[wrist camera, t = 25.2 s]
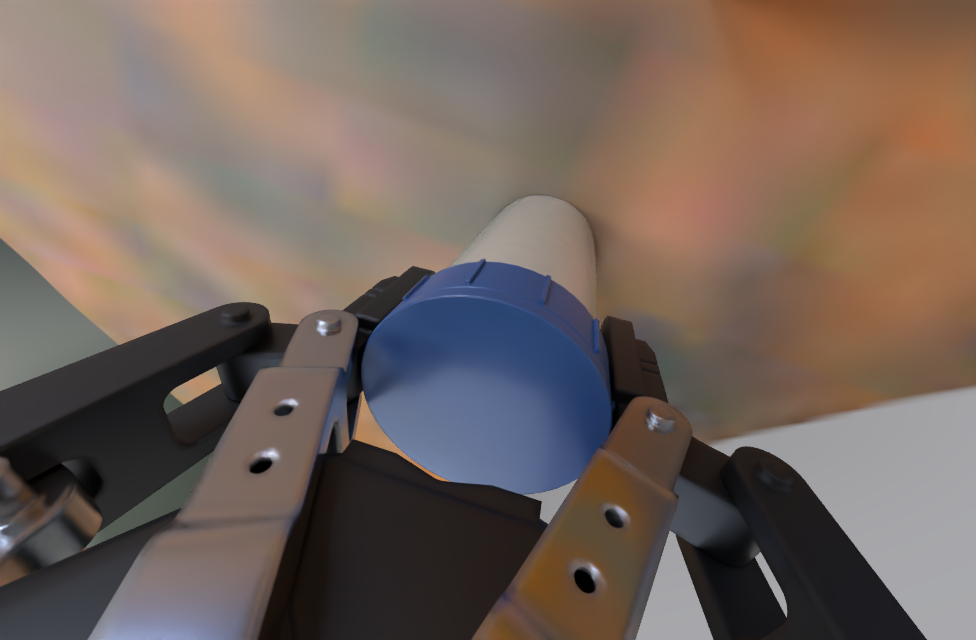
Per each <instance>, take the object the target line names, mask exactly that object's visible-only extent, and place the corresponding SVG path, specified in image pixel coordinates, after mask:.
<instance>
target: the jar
mask: <svg viewBox="0 0 976 640" xmlns="http://www.w3.org/2000/svg"><path fill="white" fill-rule="evenodd" d="M481 259H486V262H501V263H507V264H512V265H517V266H520V267H524V268H527V269H530V270H533V271H535V272H537V273H540V274H542V275H544V276H547V274H548V275H550V276H551V280H553V281H555V282H556V283H558V284H560V285H561V286H563V287H564V288H565V289H566V290H568V291H569V292H570V293H571V294H573V295H574V296H575V297H576V298H577V299H578V300H579V301H580V302H581V303H582V304H583V305H584V306H585V307H586V309H587V310H588V311H589V313H590V314H591V315H592V317H593V318H594V319H596V318H597V319H598V313H597V286H596V259H595V241H594V236H593V233H592V230H591V228H590V226H589V224H588V222H587V220H586V219H585V218H584V216H583V215H582V214H581V213H580V212H579V211H578V210H577V209H576V208H575V207H573V206H572V205H571V204H569V203H567V202H565V201H563V200H561V199H558V198H555V197H551V196H544V195H536V196H528V197H524V198H521V199H518V200H516V201H514V202H512V203H511V204H509V205H508V206H506V207H505V208H504V209H503V210H501V211H500V212H499V213H498V215H497V216H496V217H495V218H494V219H493V220H492V221H491V222H490V223H489V224H488V225H487V226H486V227H485V228H484V229H483V230H482V231H481V232H480V233H479V234H478V236H477V237H476V238H475V239H474V240H473V241H472V242H471V243H470V244H469V245H468V246H467V247H466V248H465V249H464V250H463V251H462V252H461V253H460V254H459V255H458V257H457V258H456V259H455V260H454V261H453V262H452V263H451V264H450V265H449V266H448V267H447V268H449V267H452V266H455V265H459V264H464V263H469V262H479V261H480V260H481Z"/></svg>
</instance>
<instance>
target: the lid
mask: <svg viewBox="0 0 976 640" xmlns="http://www.w3.org/2000/svg"><path fill="white" fill-rule="evenodd" d="M402 299H403V301H402V302H401V303H400V304H399V305H398V306H397V307H396V308H395V309H394V310H393V311H392V312H391V313H390V314H389V315H387V316H386V317H385V318H384V320H383V321H382V322H381V323H380V324H379V325H378V326H377V327H376V328H375V330H374V331H373V333H372V334H371V336H370V338H369V339H368V342H367V344H366V347H365V349H364V353H363V358H362V362H361V380H362V388H363V391H364V395H365V399H366V401H367V404H368V406H369V409H370V411H371V413H372V414H373V416H374V418H375V420H376V422H377V423H378V424H379V426H380V427H381V429H382V430H383V432H384V433H385V434H386V435H387V436H388V437H389V439H390V440H391V441H392V442H393V443H394V444H395V445H396V446H397V447H398V448H399V449H400V450H401V451H402V452H404V453H405V454H406V455H407V456H408V457H410V458H411V459H412V460H414V461H415V462H416V463H418V464H419V465H421V466H422V467H424V468H425V469H427V470H429V471H431V472H432V473H434V474H436V475H438V476H440V477H442V478H444V479H446V480H449V481H451V482H459V483H471V484H483V485H493V486H496V487H499V488H502V489H505V490H508V491H512V492H515V493H518V494H521V495H522V494H534V493H540V492H545V491H549V490H553V489H556V488H559V487H561V486H563V485H566V484H569V483H570V482H572V481H574V480H576V479H578V478H579V477H580V475H581V474H582V472H583V470H584V469H585V467H586V466H587V464H588V463H589V461H590V460H591V458H592V457H593V455H594V453H595V452H596V450H597V449H598V448H599V446H600V445H601V446H603V444H604V442H605V441H606V439H607V438H608V436H609V435H610V433H611V428H612V410H613V411H615V401H612V400H611V386H610V373H609V360H608V354H607V348H606V344H605V341H604V338H603V335H602V333H601V331H600V329H599V320H598V319H597V318H596V319H594V318H593V317H592V315H591V314H590V313H589V311H588V310H587V309H586V307H585V306H584V305H583V304H582V303H581V302H580V301H579V300H578V299H577V298H576V297H575V296H574V295H573V294H571V293H570V292H569V291H568V290H566V289H565V288H564V287H563V286H561V285H560V284H558V283H556V282H555V281H553V280H551V276H550V275H548V274H547V276H544V275H542V274H540V273H537V272H535V271H533V270H530V269H527V268H524V267H520V266H517V265H512V264H507V263H501V262H486V259H481V260H480V261H479V262H469V263H464V264H459V265H455V266H452V267H449V268H446V269H443V270H441V271H439V272H437V273H435V274H433V275H432V276H429V275H428V274H427V275H426V276H424V277H423V278H422V279H421V280H420V281H419V282H418V283H417V284H416V285H415V286H414V287H413V288H412V289H411V290H410V291H409V292H408V293H407V294H406V295H405V296H404V297H403V298H402Z"/></svg>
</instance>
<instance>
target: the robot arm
mask: <svg viewBox="0 0 976 640" xmlns="http://www.w3.org/2000/svg"><path fill="white" fill-rule="evenodd" d="M427 274H428V275H429V276H432V275H433V274H435V272H434V271H431V270H427V269H423V268H419V267H415V266H412V267H411V268H409V269H408V270H407V271H406V272H405V273H403V274H402V275H401V276H400V277H397V276H393V277H390V278H387V279H384V280H381V281H380V282H379V283H377V284H376V285H375V286H374V287H373V288H372V289H370V290H368V291H367V292H366V293H365V295H364V294H363V295H362V296H361V297H359V298H358V299H357V300H355V301H354V302H353V303H352V304H350V305H349V306H348V307H346V308H345V309H344V310H343V311H341V310H323V311H318V312H314V313H312V314H309V315H307V316H306V317H304V318H303V319H302V320H301V322H300V323H299V325H297V324H283V323H271V320H270V315H269V311H268V309H267V308H266V307H264V306H263V305H260V304H256V303H250V302H238V303H231V304H226V305H222V306H219V307H216V308H214V309H211V310H209V311H206V312H203V313H201V314H198V315H196V316H193V317H190V318H188V319H185V320H183V321H180V322H178V323H175V324H172V325H170V326H167V327H165V328H162V329H160V330H157V331H154V332H152V333H149V334H147V335H144V336H142V337H139V338H136V339H134V340H131V341H129V342H126V343H124V344H121V345H118V346H116V347H113V348H111V349H108V350H105V351H103V352H100V353H98V354H95V355H93V356H90V357H87V358H85V359H82V360H80V361H77V362H75V363H72V364H69V365H67V366H64V367H62V368H59V369H57V370H54V371H52V372H49V373H47V374H44V375H41V376H39V377H36V378H33V379H31V380H29V381H26V382H23V383H21V384H18V385H15V386H13V387H10V388H8V389H5V390H2V391H0V640H635V639H636V636H637V633H638V630H639V627H640V623H641V620H642V617H643V614H644V611H645V607H646V604H647V601H648V597H649V595H650V591H651V588H652V585H653V582H654V579H655V575H656V572H657V569H658V565H659V562H660V559H661V556H662V553H663V550H664V546H665V543H666V540H667V537H668V534H669V530H670V531H672V532H673V533H675V534H676V538H677V541H678V544H679V547H680V549H681V552H682V555H683V557H684V560H685V563H686V565H687V568H688V571H689V574H690V577H691V579H692V582H693V585H694V587H695V590H696V593H697V596H698V598H699V601H700V604H701V607H702V609H703V612H704V615H705V617H706V620H707V623H708V626H709V628H710V631H711V634H712V637H713V639H714V640H927V639H926V638H925V637H924V635H923V634H922V633H921V631H920V630H919V629H918V628H917V626H916V625H915V624H914V622H913V621H912V620H911V618H910V617H909V616H908V614H907V613H906V612H905V611H904V609H903V608H902V607H901V606H900V604H899V603H898V601H897V600H896V599H895V597H894V596H893V595H892V594H891V592H890V591H889V590H888V588H887V587H886V586H885V584H884V583H883V582H882V581H881V579H880V578H879V577H878V575H877V574H876V573H875V571H874V570H873V569H872V568H871V566H870V565H869V564H868V562H867V561H866V560H865V558H864V557H863V556H862V555H861V553H860V552H859V551H858V549H857V548H856V547H855V545H854V544H853V543H852V541H851V540H850V539H849V538H848V536H847V535H846V534H845V532H844V531H843V530H842V528H841V527H840V526H839V524H838V523H837V522H836V521H835V519H834V518H833V517H832V515H831V514H830V513H829V512H828V510H827V509H826V508H825V506H824V505H823V504H822V502H821V501H820V500H819V499H818V497H817V496H816V494H815V493H814V492H813V491H812V489H811V488H810V487H809V485H808V484H807V483H806V481H805V480H804V479H803V478H802V477H801V476H800V475H799V474H798V473H797V472H796V471H795V470H794V469H793V468H792V467H791V466H790V465H788V464H787V463H785V462H784V461H783V460H781V459H780V458H778V457H776V456H774V455H773V454H771V453H769V452H766V451H764V450H761V449H758V448H754V447H747V446H746V447H740V448H738V449H736V450H735V452H734V453H733V454H732V455H731V457H729V456H727V455H725V454H724V453H721V452H720V451H718V450H716V449H714V448H712V447H710V446H708V445H706V444H704V443H702V442H701V441H699V440H697V439H696V438H694V437H693V436H692V428H691V425H690V423H689V421H688V420H687V419H686V417H685V416H684V415H683V414H682V413H681V412H680V411H679V410H677V409H676V408H675V407H673V406H672V405H670V404H669V403H668V399H667V396H666V392H665V389H664V385H663V381H662V378H661V375H660V371H659V367H658V366H657V360H656V356H655V353H654V352H653V350H652V349H651V348H650V347H649V346H648V345H647V343H646V342H645V341H642V340H638V339H635V335H634V330H633V325H632V322H630V321H626V320H622V319H618V318H614V317H610V316H607V317H606V318H605V320H604V322H603V324H602V327H601V329H600V331H601V333H602V335H603V338H604V341H605V344H606V348H607V354H608V360H609V373H610V386H611V400H612V401H615V411H613V410H612V428H611V433H610V435H609V436H608V438H607V439H606V441H605V442H604V444H603V446H601V445H600V446H599V448H598V449H597V450H596V452H595V453H594V455H593V457H592V458H591V460H590V461H589V463H588V464H587V466H586V467H585V469H584V470H583V472H582V474H581V475H580V477H579V478H578V480H577V481H576V483H575V484H574V486H573V488H572V489H571V491H570V492H569V494H568V495H567V497H566V499H565V500H564V502H563V503H562V505H561V506H560V508H559V509H558V511H557V512H556V514H555V515H554V517H553V519H552V520H551V522H550V523H549V525H548V524H547V523H546V522H544V521H542V520H541V519H540V511H541V503H542V501H538V500H536V499H533V498H529V497H526V496H523V495H521V494H518V493H515V492H512V491H508V490H505V489H502V488H499V487H496V486H493V485H483V484H471V483H459V482H446V481H440V480H437V479H435V478H434V477H432V476H430V475H429V474H427V473H426V472H424V471H423V470H421V469H420V468H418V467H417V466H415V465H413V464H412V463H410V462H409V461H407V460H406V459H404V458H403V457H401V456H400V455H398V454H397V453H394V452H391V451H388V450H385V449H381V448H378V447H375V446H372V445H369V444H366V443H363V442H360V441H357V440H355V435H356V429H357V424H358V418H359V412H360V407H361V401H362V395H361V392H362V391H363V388H362V380H361V362H362V358H363V353H364V349H365V347H366V344H367V342H368V339H369V338H370V336H371V334H372V333H373V331H374V330H375V328H376V327H377V326H378V325H379V324H380V323H381V322H382V321H383V320H384V318H385V317H386V316H387V315H389V314H390V313H391V312H392V311H393V310H394V309H395V308H396V307H397V306H398V305H399V304H400V303H401V302H402V301H403V299H402V298H403V297H404V296H405V295H406V294H407V293H408V292H409V291H410V290H411V289H412V288H413V287H414V286H415V285H416V284H417V283H418V282H419V281H420V280H421V279H422V278H423V277H424V276H426V275H427ZM214 367H217V370H218V373H219V377H220V380H221V384H220V385H218V386H216V387H214V388H213V389H211V390H209V391H207V392H205V393H204V394H202V395H200V396H198V397H197V398H195V399H193V400H191V401H190V402H188V403H186V404H184V405H182V406H181V407H179V408H177V409H175V410H174V411H172V412H170V413H168V414H167V415H166V413H165V411H164V408H163V403H164V400H165V398H166V397H167V395H168V394H169V393H170V392H171V391H172V390H173V389H174V388H176V387H178V386H179V385H181V384H183V383H185V382H187V381H189V380H191V379H193V378H195V377H197V376H199V375H201V374H202V373H204V372H206V371H208V370H210V369H212V368H214ZM211 452H213V453H212V455H211V457H210V459H209V460H208V462H207V464H206V466H205V467H204V469H203V471H202V473H201V474H200V476H199V478H198V480H197V482H196V484H195V485H194V487H193V489H192V491H191V492H190V494H189V496H188V498H187V500H186V501H185V503H184V505H183V507H182V508H180V509H177V510H175V511H173V512H170V513H168V514H166V515H164V516H161V517H159V518H157V519H154V520H152V521H150V522H148V523H146V524H143V525H141V526H138V527H136V528H134V529H132V530H129V531H127V532H125V533H122V534H120V535H118V536H115V537H113V538H111V539H109V540H107V541H104V542H102V543H99V544H97V545H95V546H93V547H90V548H88V549H87V548H86V546H87V545H88V544H89V543H90V541H91V540H92V539H93V538H94V536H95V535H96V533H98V532H99V531H100V530H102V529H104V528H105V527H106V526H108V525H109V524H111V523H112V522H114V521H115V520H116V519H118V518H119V517H121V516H122V515H123V514H125V513H126V512H128V511H129V510H130V509H132V508H133V507H135V506H136V505H138V504H139V503H140V502H142V501H143V500H145V499H146V498H148V497H149V496H150V495H152V494H153V493H154V492H156V491H157V490H159V489H160V488H162V487H163V486H165V485H166V484H167V483H169V482H170V481H172V480H173V479H174V478H176V477H177V476H179V475H180V474H181V473H183V472H184V471H186V470H187V469H189V468H190V467H191V466H193V465H194V464H196V463H197V462H199V461H200V460H201V459H203V458H204V457H206V456H207V455H209V454H210V453H211ZM759 552H761V553H762V555H763V556H764V558H765V560H766V562H767V564H768V565H769V567H770V569H771V571H772V573H773V575H774V576H775V578H776V580H777V582H778V584H779V586H780V588H781V590H782V592H783V594H784V596H785V600H786V603H787V618H786V616H785V614H784V612H783V610H782V609H781V607H780V605H779V603H778V601H777V599H776V597H775V596H774V593H773V591H772V589H771V588H770V586H769V584H768V582H767V580H766V578H765V576H764V574H763V573H762V570H761V568H760V567H759V565H758V563H757V561H756V559H755V556H756V555H757V554H759Z"/></svg>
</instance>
